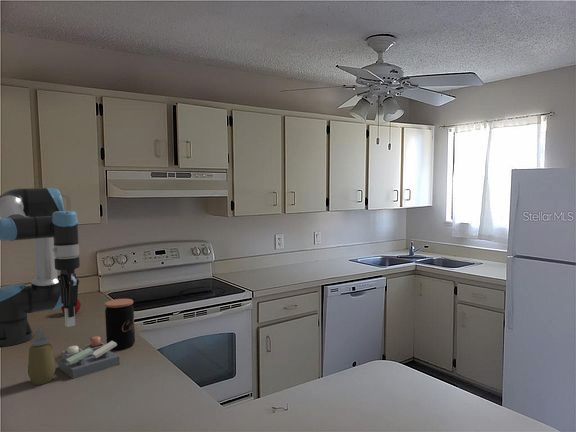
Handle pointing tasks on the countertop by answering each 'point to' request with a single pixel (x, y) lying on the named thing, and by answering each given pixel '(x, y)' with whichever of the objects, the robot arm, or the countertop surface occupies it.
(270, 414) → the countertop surface
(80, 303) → the apple
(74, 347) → the ivory button
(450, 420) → the countertop surface
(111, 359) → the panel
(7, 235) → the robot arm
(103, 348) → the block
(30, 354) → the squeeze bottle
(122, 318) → the coffee jar
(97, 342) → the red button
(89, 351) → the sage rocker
